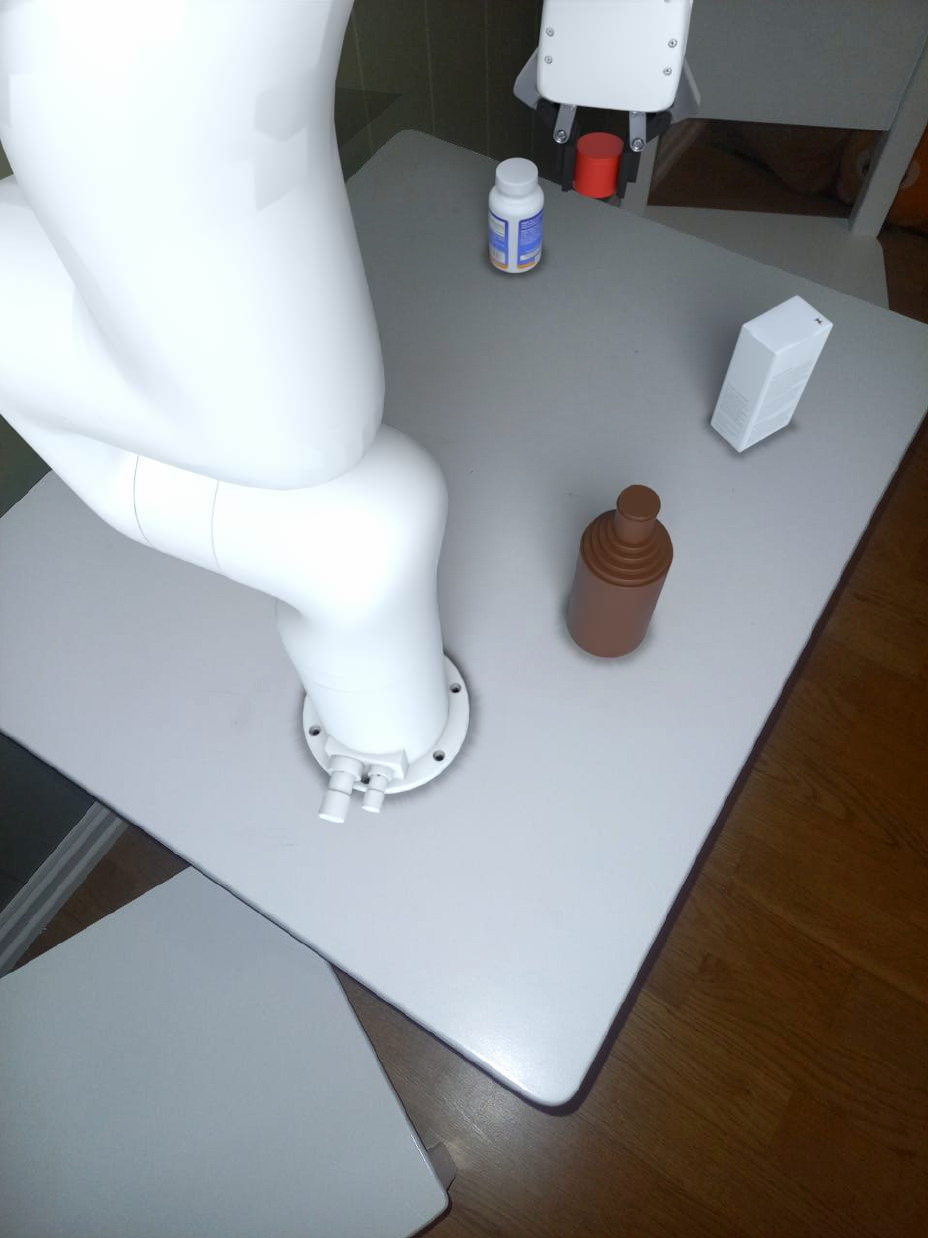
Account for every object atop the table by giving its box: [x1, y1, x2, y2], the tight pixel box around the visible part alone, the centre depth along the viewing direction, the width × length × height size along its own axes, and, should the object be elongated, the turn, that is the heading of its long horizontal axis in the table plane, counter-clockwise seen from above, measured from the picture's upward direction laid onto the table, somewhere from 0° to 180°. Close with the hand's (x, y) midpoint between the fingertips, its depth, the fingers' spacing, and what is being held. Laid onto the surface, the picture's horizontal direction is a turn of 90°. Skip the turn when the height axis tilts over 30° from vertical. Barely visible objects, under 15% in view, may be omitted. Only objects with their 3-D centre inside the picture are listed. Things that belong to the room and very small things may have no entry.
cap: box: [572, 131, 624, 199], centre depth 68 cm, size 4×4×3 cm
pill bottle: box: [488, 157, 545, 274], centre depth 84 cm, size 5×5×10 cm
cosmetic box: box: [710, 294, 834, 453], centre depth 72 cm, size 6×4×12 cm
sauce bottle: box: [566, 483, 674, 659], centre depth 61 cm, size 6×6×16 cm
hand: (595, 181), depth 68 cm, fingers closed on cap, 3 cm apart
